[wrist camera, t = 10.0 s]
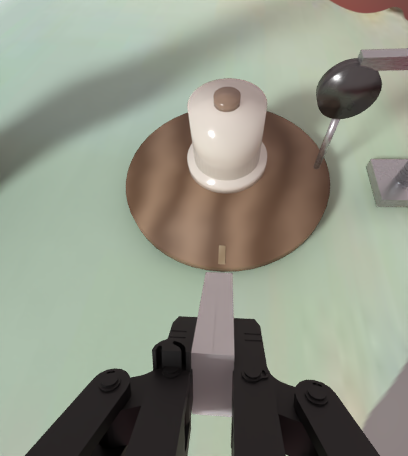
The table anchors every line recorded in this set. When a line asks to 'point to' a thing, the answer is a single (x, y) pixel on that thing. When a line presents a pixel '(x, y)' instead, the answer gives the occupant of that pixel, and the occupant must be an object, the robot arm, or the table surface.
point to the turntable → (227, 200)
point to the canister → (227, 135)
